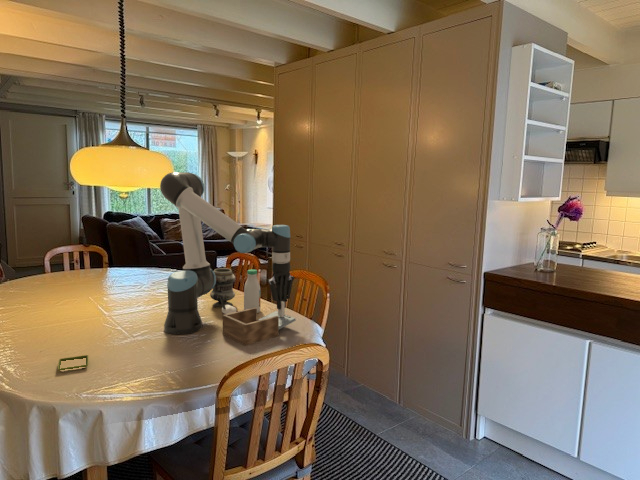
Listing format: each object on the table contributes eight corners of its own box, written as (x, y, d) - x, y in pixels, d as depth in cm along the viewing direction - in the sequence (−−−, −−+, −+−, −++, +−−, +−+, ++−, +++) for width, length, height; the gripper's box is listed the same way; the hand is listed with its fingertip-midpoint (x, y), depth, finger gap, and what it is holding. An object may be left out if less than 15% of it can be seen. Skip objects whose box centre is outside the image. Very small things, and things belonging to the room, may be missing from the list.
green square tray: (88, 360, 151) (88, 354, 151) (88, 370, 143) (88, 364, 143) (59, 364, 147) (59, 358, 147) (57, 375, 139) (57, 369, 139)
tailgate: (276, 327, 178) (295, 317, 185) (257, 319, 188) (275, 310, 194) (277, 330, 179) (295, 321, 185) (258, 322, 188) (276, 313, 194)
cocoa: (236, 317, 200) (237, 291, 199) (240, 321, 195) (241, 294, 194) (215, 318, 196) (216, 292, 195) (218, 322, 191) (219, 295, 190)
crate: (245, 345, 166) (245, 325, 165) (222, 334, 178) (222, 315, 177) (278, 335, 177) (278, 316, 176) (255, 325, 189) (255, 307, 188)
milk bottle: (257, 314, 204) (257, 272, 201) (241, 313, 205) (241, 271, 202) (262, 309, 211) (262, 269, 208) (247, 308, 213) (247, 268, 210)
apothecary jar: (227, 310, 209) (226, 273, 206) (205, 307, 213) (204, 271, 210) (239, 303, 220) (239, 268, 218) (218, 301, 224) (218, 266, 221)
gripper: (274, 265, 177) (274, 321, 180) (298, 261, 186) (298, 314, 189) (263, 262, 182) (263, 317, 186) (287, 258, 191) (287, 311, 195)
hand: (281, 316), depth 188 cm, fingers closed
